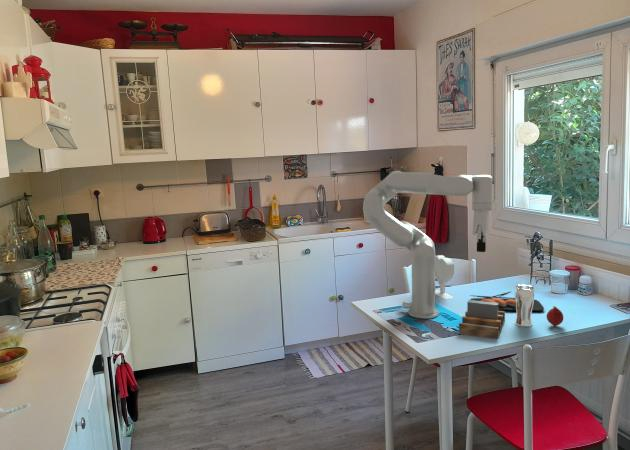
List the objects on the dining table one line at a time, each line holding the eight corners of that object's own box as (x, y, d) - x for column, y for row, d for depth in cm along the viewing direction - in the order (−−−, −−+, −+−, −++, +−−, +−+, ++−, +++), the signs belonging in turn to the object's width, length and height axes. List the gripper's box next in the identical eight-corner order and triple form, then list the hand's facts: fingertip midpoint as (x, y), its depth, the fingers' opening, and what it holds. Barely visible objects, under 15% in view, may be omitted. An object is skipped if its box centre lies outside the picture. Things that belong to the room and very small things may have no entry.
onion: (558, 323, 202) (559, 303, 201) (565, 328, 197) (566, 308, 195) (543, 323, 202) (544, 304, 201) (550, 329, 197) (551, 309, 195)
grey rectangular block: (467, 324, 202) (467, 302, 200) (468, 321, 205) (468, 299, 203) (496, 328, 197) (497, 305, 196) (497, 325, 200) (498, 302, 198)
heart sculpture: (430, 290, 251) (430, 254, 248) (439, 289, 252) (439, 253, 249) (445, 299, 236) (445, 261, 233) (455, 298, 237) (455, 260, 234)
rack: (458, 333, 195) (458, 322, 195) (468, 316, 213) (468, 306, 212) (497, 339, 189) (498, 327, 188) (504, 321, 207) (505, 310, 206)
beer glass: (517, 319, 207) (518, 283, 205) (535, 323, 203) (536, 286, 201) (511, 325, 202) (512, 287, 200) (529, 328, 198) (531, 290, 195)
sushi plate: (472, 312, 219) (473, 304, 219) (464, 291, 248) (464, 284, 248) (545, 314, 214) (546, 305, 214) (528, 292, 244) (529, 285, 243)
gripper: (475, 203, 215) (474, 247, 218) (468, 208, 201) (468, 254, 204) (494, 204, 211) (493, 248, 214) (488, 209, 198) (488, 256, 201)
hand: (481, 251), depth 209 cm, fingers closed
